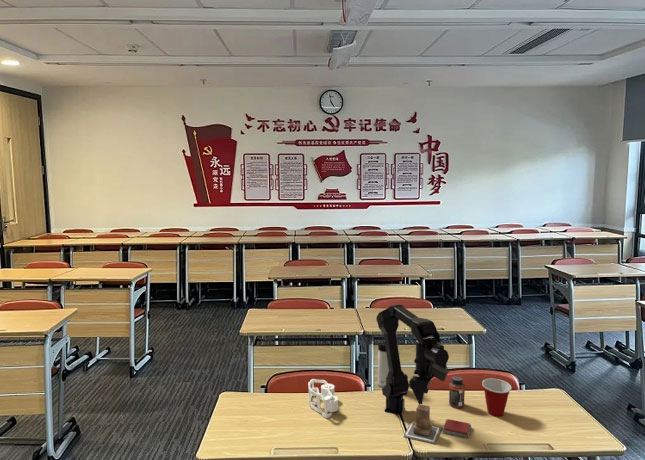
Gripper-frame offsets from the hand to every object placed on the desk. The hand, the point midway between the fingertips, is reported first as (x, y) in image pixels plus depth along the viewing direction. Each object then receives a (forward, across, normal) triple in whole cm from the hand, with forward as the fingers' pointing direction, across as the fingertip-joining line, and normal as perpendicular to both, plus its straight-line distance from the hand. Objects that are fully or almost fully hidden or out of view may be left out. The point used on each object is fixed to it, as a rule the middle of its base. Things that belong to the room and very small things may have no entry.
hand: (423, 398), depth 164 cm
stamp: (+12, 0, 0) cm, 12 cm away
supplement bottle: (+13, +27, -8) cm, 31 cm away
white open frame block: (+13, +4, +42) cm, 44 cm away
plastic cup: (+13, +26, -23) cm, 37 cm away
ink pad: (+13, +7, -11) cm, 18 cm away
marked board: (+13, 0, 0) cm, 13 cm away
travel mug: (+13, +33, +24) cm, 43 cm away
